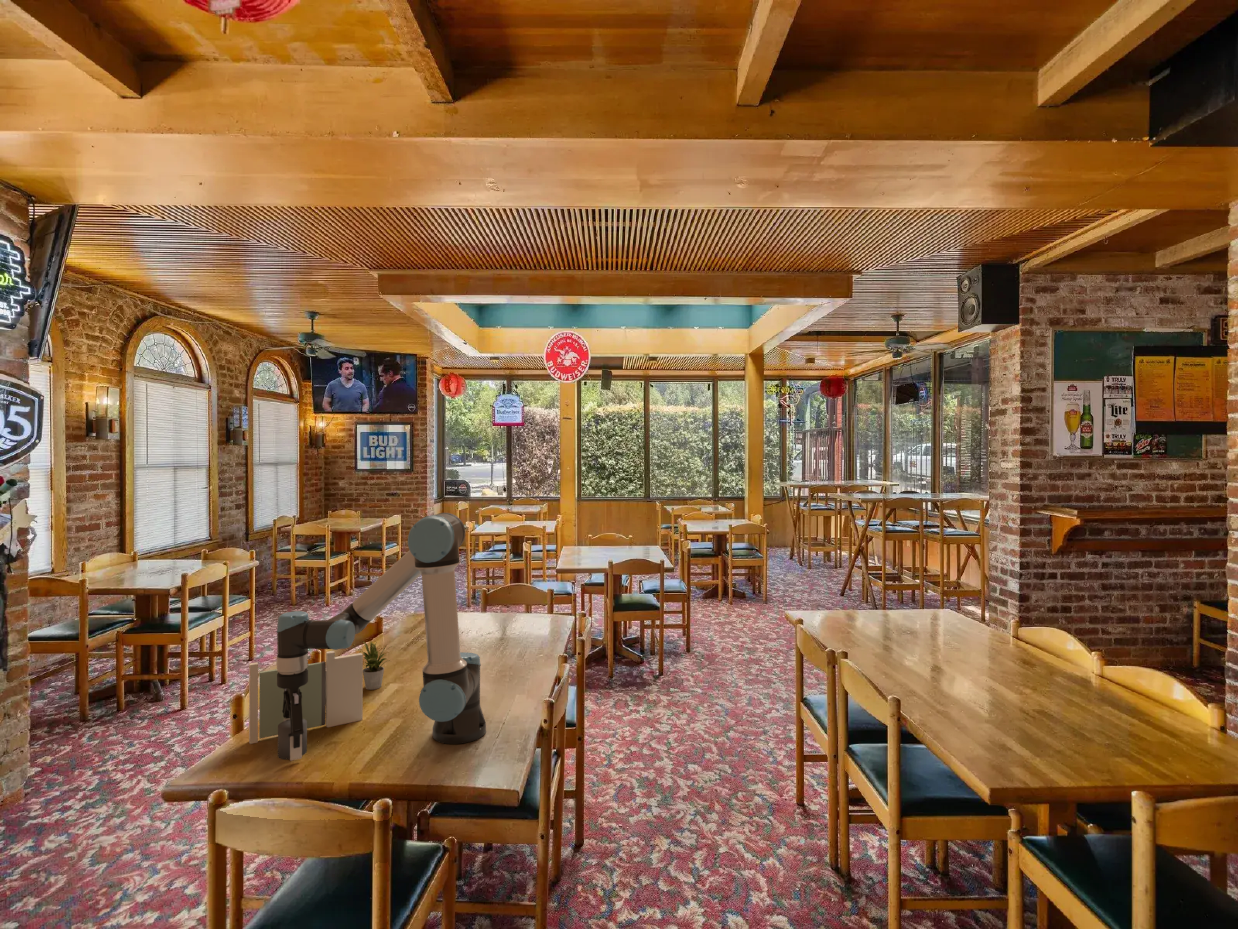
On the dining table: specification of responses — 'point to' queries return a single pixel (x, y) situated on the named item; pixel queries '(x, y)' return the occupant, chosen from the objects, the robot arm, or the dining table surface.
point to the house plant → (373, 667)
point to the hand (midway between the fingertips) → (292, 750)
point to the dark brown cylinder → (284, 740)
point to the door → (274, 697)
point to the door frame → (340, 691)
